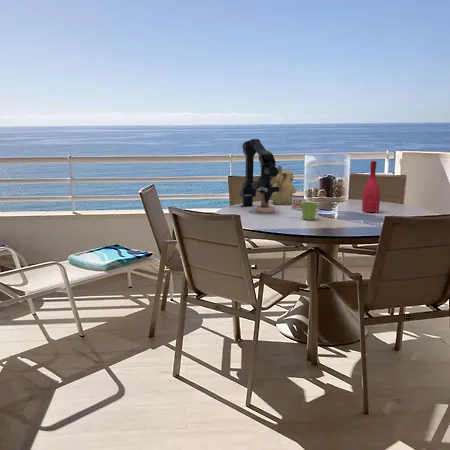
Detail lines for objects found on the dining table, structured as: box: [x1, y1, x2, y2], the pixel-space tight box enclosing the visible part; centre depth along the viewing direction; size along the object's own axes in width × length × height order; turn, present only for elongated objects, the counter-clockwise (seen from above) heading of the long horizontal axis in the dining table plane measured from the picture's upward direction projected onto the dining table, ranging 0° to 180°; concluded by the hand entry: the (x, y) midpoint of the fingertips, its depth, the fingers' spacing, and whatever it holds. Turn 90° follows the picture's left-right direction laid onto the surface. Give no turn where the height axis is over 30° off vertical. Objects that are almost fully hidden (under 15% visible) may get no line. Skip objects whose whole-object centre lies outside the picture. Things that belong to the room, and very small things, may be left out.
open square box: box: [254, 205, 276, 214], centre depth 288 cm, size 8×8×3 cm
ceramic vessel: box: [271, 165, 297, 206], centre depth 324 cm, size 17×20×25 cm
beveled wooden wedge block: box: [260, 193, 270, 207], centre depth 287 cm, size 2×4×8 cm, turn 122°
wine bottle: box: [361, 160, 381, 213], centre depth 295 cm, size 10×10×30 cm
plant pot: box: [301, 201, 319, 221], centre depth 272 cm, size 9×9×9 cm
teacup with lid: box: [291, 189, 307, 211], centre depth 303 cm, size 12×9×12 cm
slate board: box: [248, 209, 278, 215], centre depth 289 cm, size 12×14×1 cm
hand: (265, 202), depth 287 cm, fingers closed on beveled wooden wedge block, 2 cm apart
